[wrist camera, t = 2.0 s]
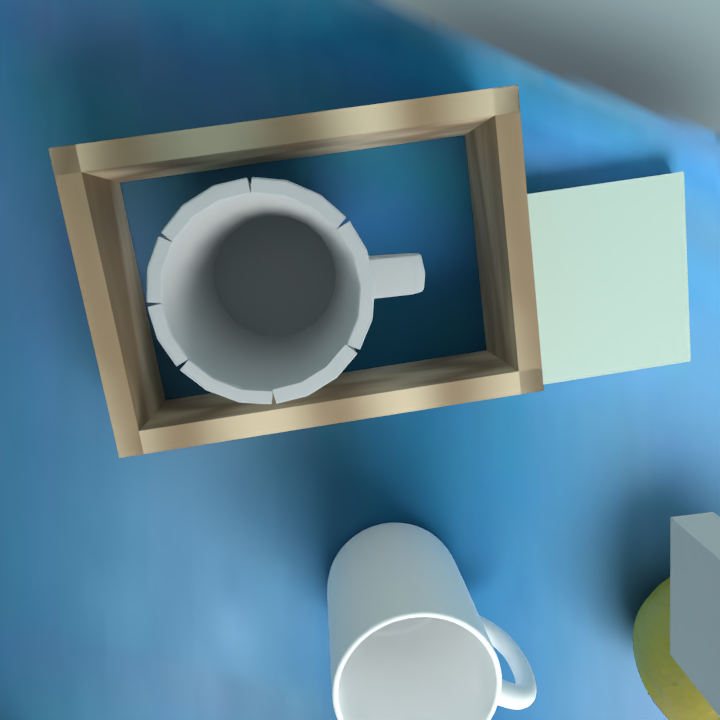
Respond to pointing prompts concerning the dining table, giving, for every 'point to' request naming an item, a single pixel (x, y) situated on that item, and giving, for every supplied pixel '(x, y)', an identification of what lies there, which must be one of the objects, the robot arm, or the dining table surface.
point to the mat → (611, 276)
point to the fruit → (665, 662)
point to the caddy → (281, 142)
